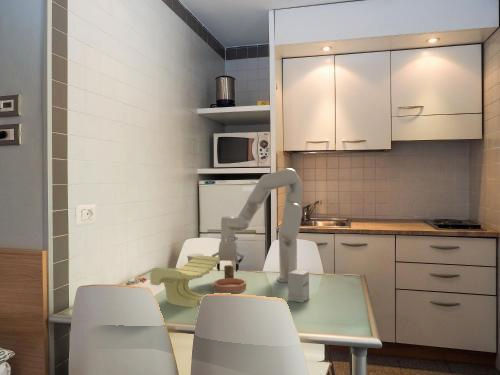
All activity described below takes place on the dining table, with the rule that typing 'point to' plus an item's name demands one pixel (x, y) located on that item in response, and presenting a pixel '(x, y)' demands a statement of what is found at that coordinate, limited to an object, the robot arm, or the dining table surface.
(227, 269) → the walnut bead
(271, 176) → the robot arm
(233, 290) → the round tray
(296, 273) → the supplement box
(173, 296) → the slatted curved stool
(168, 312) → the dining table surface
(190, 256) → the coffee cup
